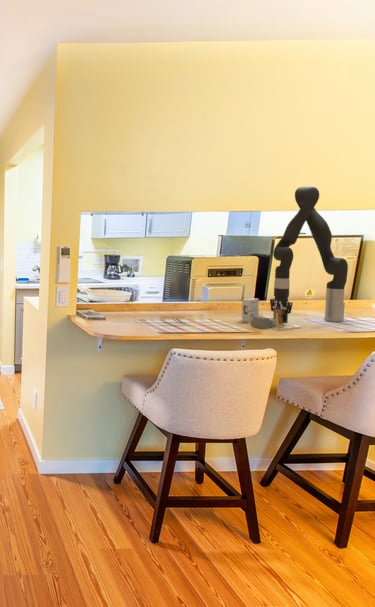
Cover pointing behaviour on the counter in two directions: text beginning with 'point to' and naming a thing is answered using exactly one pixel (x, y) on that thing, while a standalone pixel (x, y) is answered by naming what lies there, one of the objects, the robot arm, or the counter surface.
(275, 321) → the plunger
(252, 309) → the ink box
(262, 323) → the gauge bed
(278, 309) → the brown wooden block
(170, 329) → the counter surface
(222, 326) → the counter surface
